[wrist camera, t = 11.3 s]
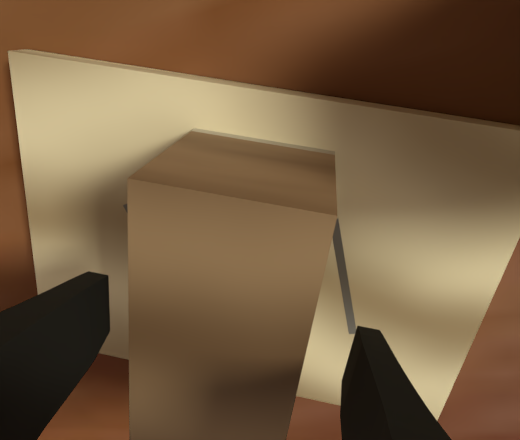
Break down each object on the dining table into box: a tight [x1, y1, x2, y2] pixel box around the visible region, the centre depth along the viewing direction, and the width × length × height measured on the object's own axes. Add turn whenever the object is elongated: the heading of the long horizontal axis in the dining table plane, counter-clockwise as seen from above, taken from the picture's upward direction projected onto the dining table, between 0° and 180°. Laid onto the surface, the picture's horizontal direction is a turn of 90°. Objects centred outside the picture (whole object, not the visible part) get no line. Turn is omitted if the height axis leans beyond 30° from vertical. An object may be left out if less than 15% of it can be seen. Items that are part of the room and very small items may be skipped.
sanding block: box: [127, 128, 337, 440], centre depth 13 cm, size 9×4×5 cm, turn 173°
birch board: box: [8, 49, 520, 420], centre depth 16 cm, size 12×17×1 cm
